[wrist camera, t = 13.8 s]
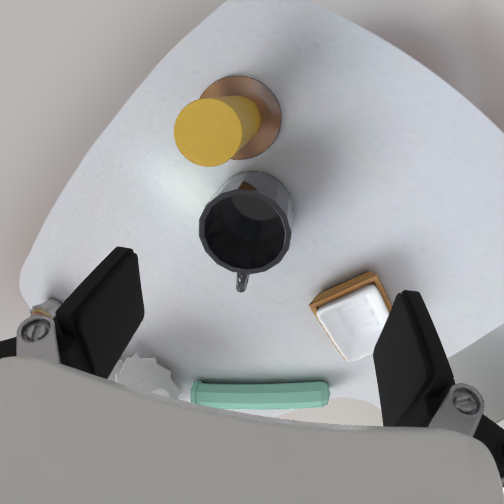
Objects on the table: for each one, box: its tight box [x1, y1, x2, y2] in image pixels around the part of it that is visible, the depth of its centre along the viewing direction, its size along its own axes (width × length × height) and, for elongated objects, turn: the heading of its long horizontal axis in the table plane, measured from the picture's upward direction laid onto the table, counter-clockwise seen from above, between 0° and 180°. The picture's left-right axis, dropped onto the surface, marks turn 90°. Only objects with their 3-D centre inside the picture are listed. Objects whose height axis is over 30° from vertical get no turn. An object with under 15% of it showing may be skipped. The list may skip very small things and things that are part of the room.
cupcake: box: [30, 299, 62, 319], centre depth 51 cm, size 9×9×10 cm
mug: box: [199, 171, 293, 292], centre depth 37 cm, size 13×10×8 cm
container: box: [191, 381, 330, 409], centre depth 54 cm, size 6×6×25 cm
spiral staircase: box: [108, 353, 181, 399], centre depth 53 cm, size 18×18×25 cm
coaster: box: [199, 76, 281, 160], centre depth 34 cm, size 10×10×1 cm
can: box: [174, 96, 261, 167], centre depth 29 cm, size 6×6×12 cm
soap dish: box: [309, 271, 392, 362], centre depth 42 cm, size 12×10×5 cm
